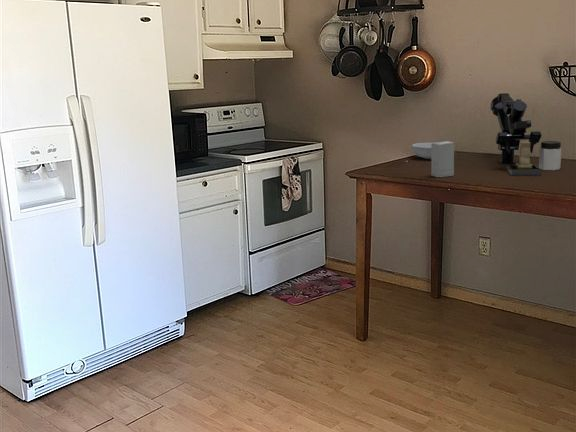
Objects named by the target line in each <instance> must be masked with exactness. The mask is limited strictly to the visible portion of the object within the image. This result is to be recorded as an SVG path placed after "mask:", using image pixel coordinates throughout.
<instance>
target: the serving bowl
mask: <svg viewBox="0 0 576 432" xmlns="http://www.w3.org/2000/svg"><path fill="white" fill-rule="evenodd" d="M432 143H433V142H418V143H413V144H411V149H412V152H413V153H414V155H415V156H417V157H420V158H423V159H425V160H431V156H432Z"/></svg>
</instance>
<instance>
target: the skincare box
mask: <svg viewBox="0 0 576 432" xmlns="http://www.w3.org/2000/svg"><path fill="white" fill-rule="evenodd" d="M431 143H432V156H431V159H430V160H431V170H430V171H431V174H430V175H431V176H432V177H435V178H438V177H440V178H445V177H452V176H455V142H452V141H448V140H446V141H445V140H444V141H440V142H431Z"/></svg>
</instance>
